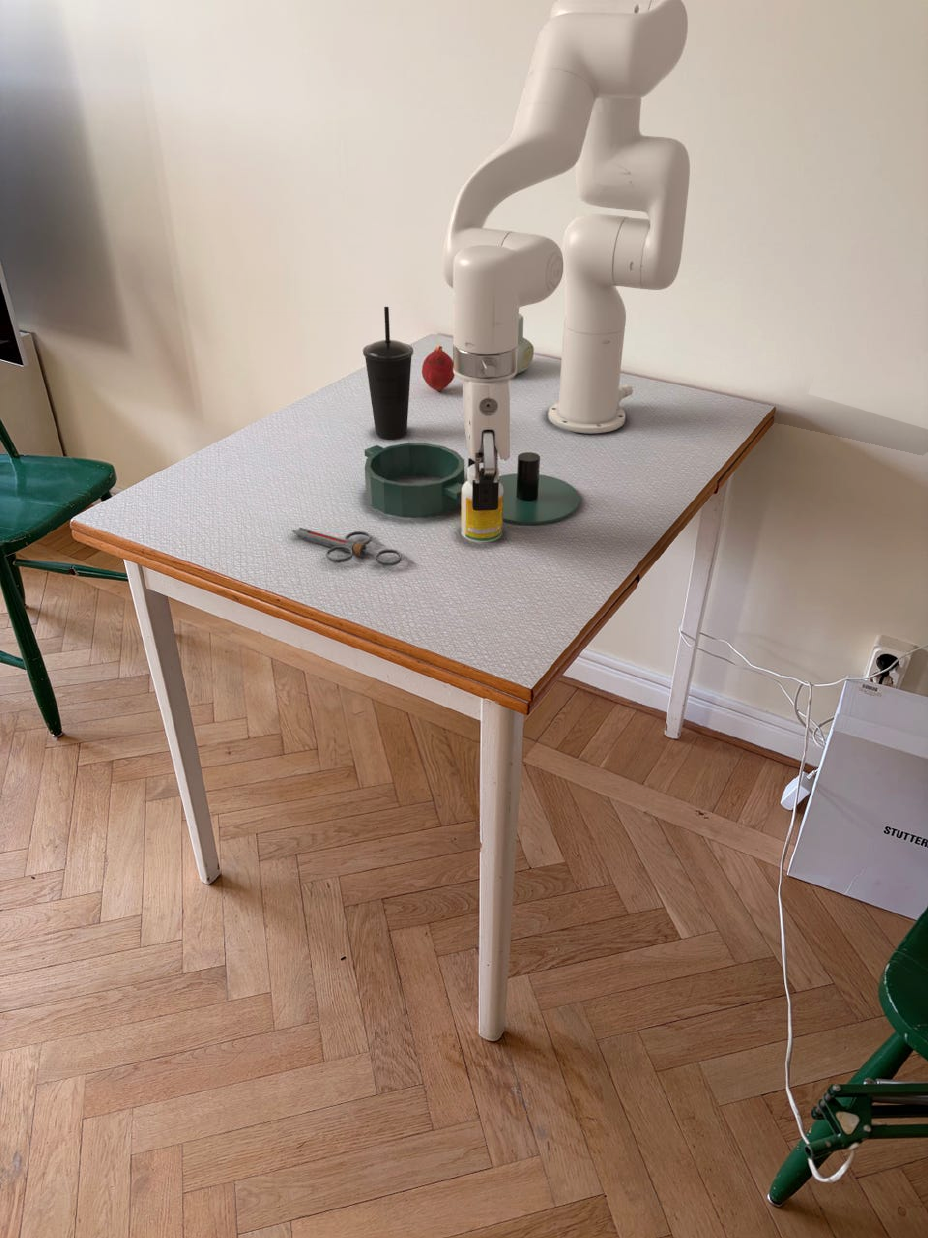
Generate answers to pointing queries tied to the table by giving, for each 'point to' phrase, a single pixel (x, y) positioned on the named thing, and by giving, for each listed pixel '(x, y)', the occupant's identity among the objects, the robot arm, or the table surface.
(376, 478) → the pot
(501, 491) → the supplement bottle
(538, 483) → the lid
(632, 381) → the table surface
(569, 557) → the table surface
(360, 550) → the syringe
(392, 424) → the drinking cup
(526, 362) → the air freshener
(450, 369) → the onion
